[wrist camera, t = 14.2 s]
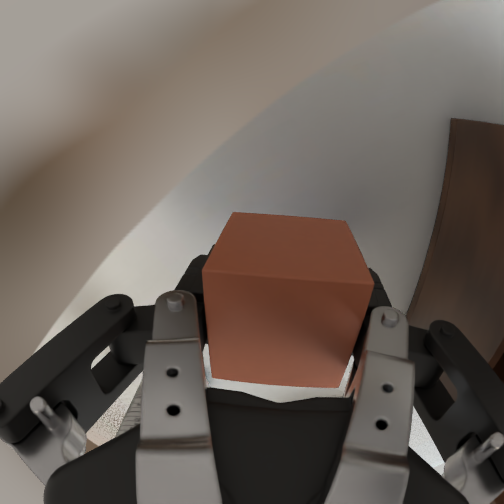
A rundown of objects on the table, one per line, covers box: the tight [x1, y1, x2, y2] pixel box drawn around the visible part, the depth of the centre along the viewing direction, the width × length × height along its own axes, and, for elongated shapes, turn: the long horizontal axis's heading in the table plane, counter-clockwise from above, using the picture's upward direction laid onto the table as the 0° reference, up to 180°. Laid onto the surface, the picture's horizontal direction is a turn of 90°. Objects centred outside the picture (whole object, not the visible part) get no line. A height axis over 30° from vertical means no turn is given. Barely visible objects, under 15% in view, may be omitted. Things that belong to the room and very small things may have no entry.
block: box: [202, 212, 374, 388], centre depth 10 cm, size 5×5×5 cm
